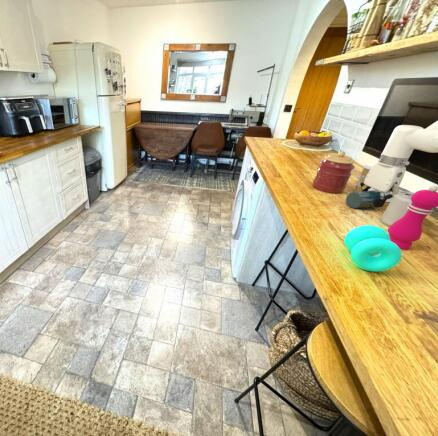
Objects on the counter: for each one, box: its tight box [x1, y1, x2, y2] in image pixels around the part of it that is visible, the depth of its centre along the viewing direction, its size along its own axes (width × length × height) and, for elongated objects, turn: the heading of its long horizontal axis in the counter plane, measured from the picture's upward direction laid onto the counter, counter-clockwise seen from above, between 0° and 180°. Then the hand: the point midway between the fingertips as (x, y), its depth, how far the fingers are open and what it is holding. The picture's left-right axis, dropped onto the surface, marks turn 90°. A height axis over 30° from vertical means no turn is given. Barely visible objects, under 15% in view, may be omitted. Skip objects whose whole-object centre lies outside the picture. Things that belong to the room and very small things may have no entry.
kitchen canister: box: [311, 151, 356, 194], centre depth 111 cm, size 13×13×18 cm
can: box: [380, 190, 415, 228], centre depth 84 cm, size 8×8×12 cm
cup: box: [345, 189, 381, 209], centre depth 97 cm, size 6×6×10 cm
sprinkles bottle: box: [352, 162, 375, 192], centre depth 108 cm, size 5×5×13 cm
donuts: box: [343, 224, 403, 273], centre depth 66 cm, size 10×10×10 cm
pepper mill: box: [387, 185, 438, 251], centre depth 71 cm, size 7×7×20 cm
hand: (369, 202), depth 98 cm, fingers open, 6 cm apart
